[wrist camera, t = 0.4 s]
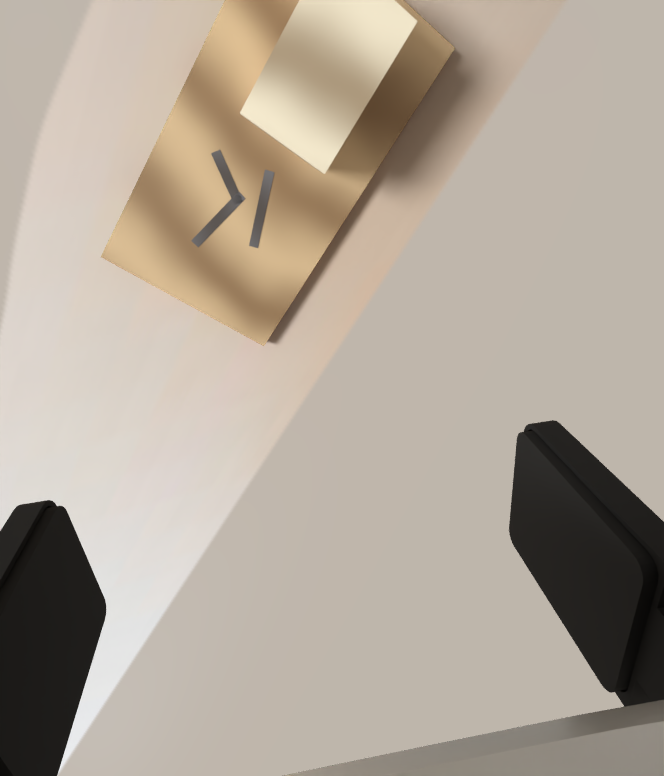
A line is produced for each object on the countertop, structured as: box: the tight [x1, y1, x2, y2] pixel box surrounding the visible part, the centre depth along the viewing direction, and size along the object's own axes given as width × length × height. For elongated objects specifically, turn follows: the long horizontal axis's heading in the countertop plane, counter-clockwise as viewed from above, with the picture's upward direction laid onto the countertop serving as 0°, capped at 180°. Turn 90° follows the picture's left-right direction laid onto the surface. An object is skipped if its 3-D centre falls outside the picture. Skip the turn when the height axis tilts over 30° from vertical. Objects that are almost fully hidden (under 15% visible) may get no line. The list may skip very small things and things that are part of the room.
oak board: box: [101, 0, 455, 346], centre depth 32 cm, size 22×12×1 cm, turn 146°
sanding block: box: [240, 0, 417, 174], centre depth 27 cm, size 8×5×6 cm, turn 146°
